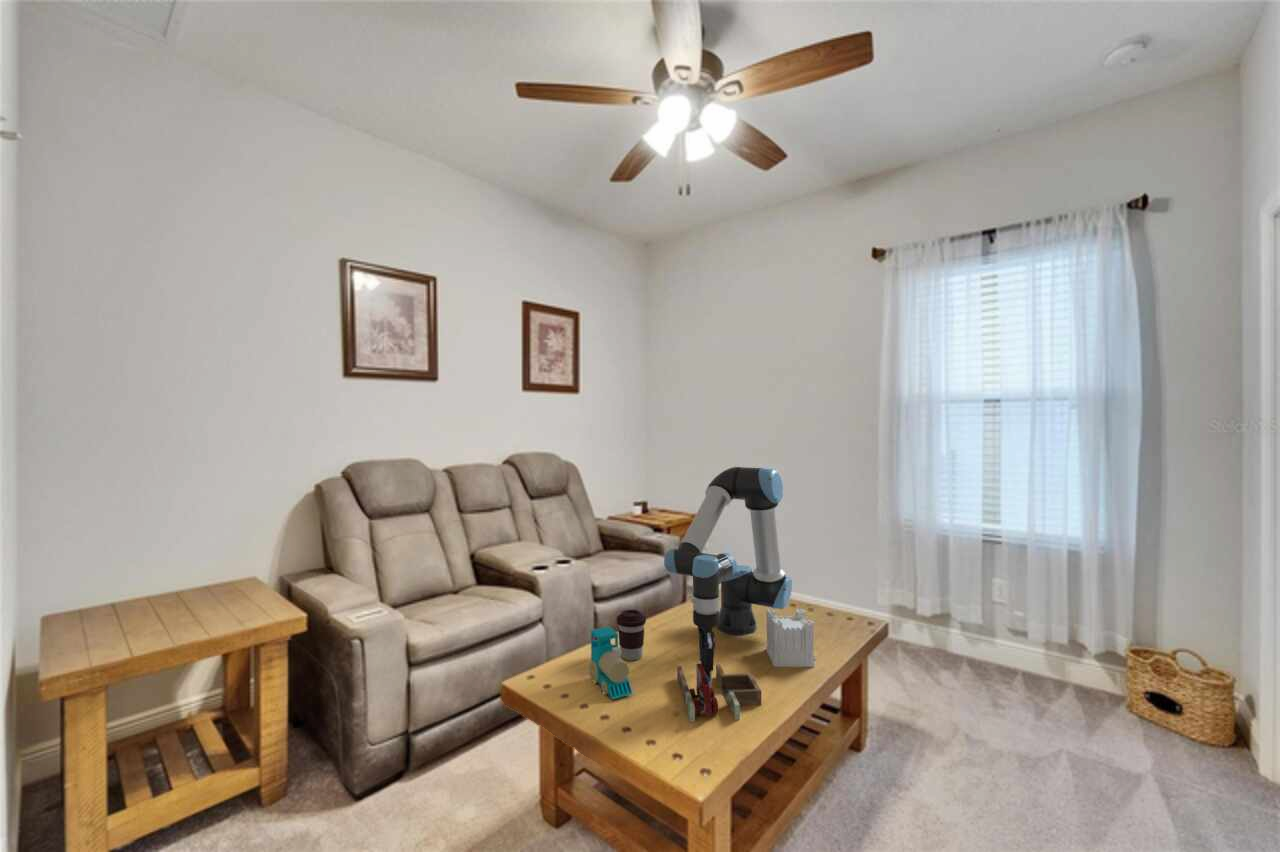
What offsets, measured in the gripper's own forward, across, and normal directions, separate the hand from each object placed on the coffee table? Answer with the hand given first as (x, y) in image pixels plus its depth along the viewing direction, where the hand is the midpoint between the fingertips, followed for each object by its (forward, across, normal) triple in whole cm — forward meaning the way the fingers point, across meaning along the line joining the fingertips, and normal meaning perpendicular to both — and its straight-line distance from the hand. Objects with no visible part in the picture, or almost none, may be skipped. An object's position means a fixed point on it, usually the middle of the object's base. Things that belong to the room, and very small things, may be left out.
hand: (706, 690), depth 157 cm
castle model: (+3, -22, +34) cm, 41 cm away
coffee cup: (+2, -28, -20) cm, 35 cm away
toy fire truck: (+2, +6, -2) cm, 7 cm away
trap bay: (+2, +1, +10) cm, 10 cm away
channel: (+2, +1, 0) cm, 2 cm away
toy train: (+2, -8, -28) cm, 29 cm away
